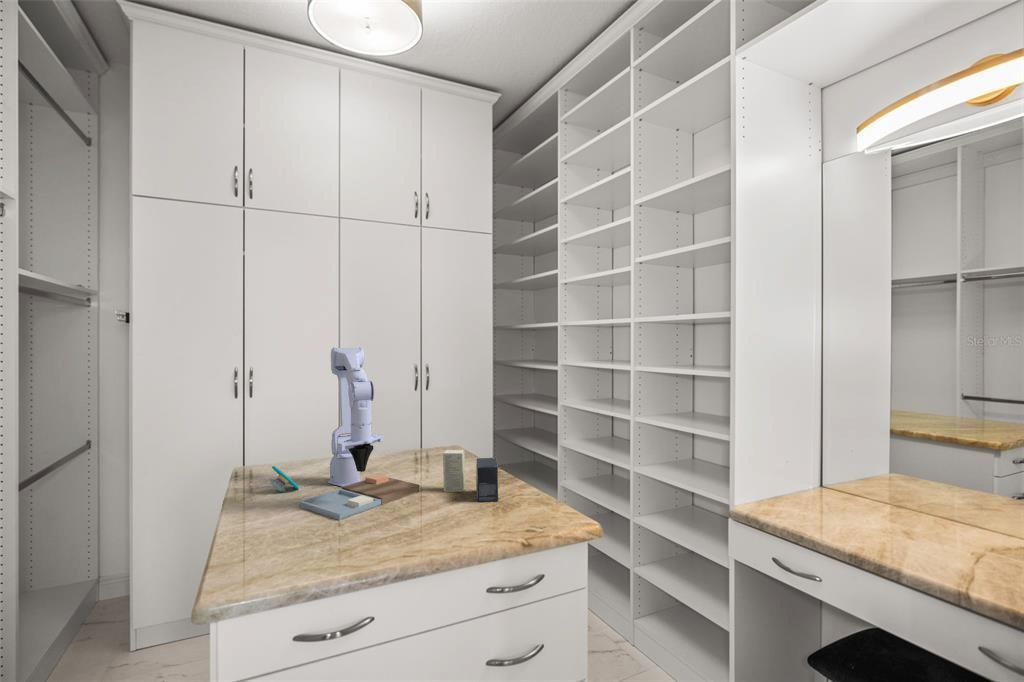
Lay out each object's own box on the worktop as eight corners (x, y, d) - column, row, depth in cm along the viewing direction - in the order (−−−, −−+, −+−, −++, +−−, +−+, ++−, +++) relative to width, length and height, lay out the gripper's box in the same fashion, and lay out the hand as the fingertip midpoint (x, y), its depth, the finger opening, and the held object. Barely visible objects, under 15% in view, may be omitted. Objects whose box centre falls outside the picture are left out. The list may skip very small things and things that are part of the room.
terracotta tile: (365, 481, 158) (365, 477, 158) (377, 478, 162) (377, 473, 162) (376, 484, 155) (376, 479, 155) (388, 480, 160) (388, 476, 159)
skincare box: (465, 488, 159) (465, 449, 159) (463, 492, 154) (463, 453, 154) (445, 487, 159) (445, 449, 159) (442, 492, 155) (442, 452, 155)
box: (298, 506, 141) (298, 501, 141) (340, 493, 153) (340, 488, 153) (339, 520, 131) (339, 514, 131) (381, 505, 143) (381, 499, 143)
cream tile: (347, 505, 142) (347, 499, 142) (361, 500, 146) (361, 495, 146) (359, 508, 139) (358, 503, 139) (373, 503, 143) (373, 498, 143)
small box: (475, 491, 156) (475, 457, 156) (496, 490, 157) (497, 457, 156) (476, 502, 145) (476, 466, 145) (498, 502, 146) (498, 466, 146)
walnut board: (341, 493, 153) (341, 486, 153) (379, 481, 166) (379, 475, 165) (382, 504, 143) (382, 497, 143) (419, 491, 155) (419, 484, 155)
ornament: (262, 476, 158) (261, 475, 149) (273, 465, 160) (273, 463, 151) (288, 499, 159) (289, 499, 150) (299, 488, 161) (300, 487, 152)
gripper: (349, 429, 136) (348, 479, 136) (390, 421, 147) (390, 467, 148) (332, 426, 139) (332, 475, 140) (373, 419, 151) (373, 463, 152)
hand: (361, 471), depth 144 cm, fingers closed
